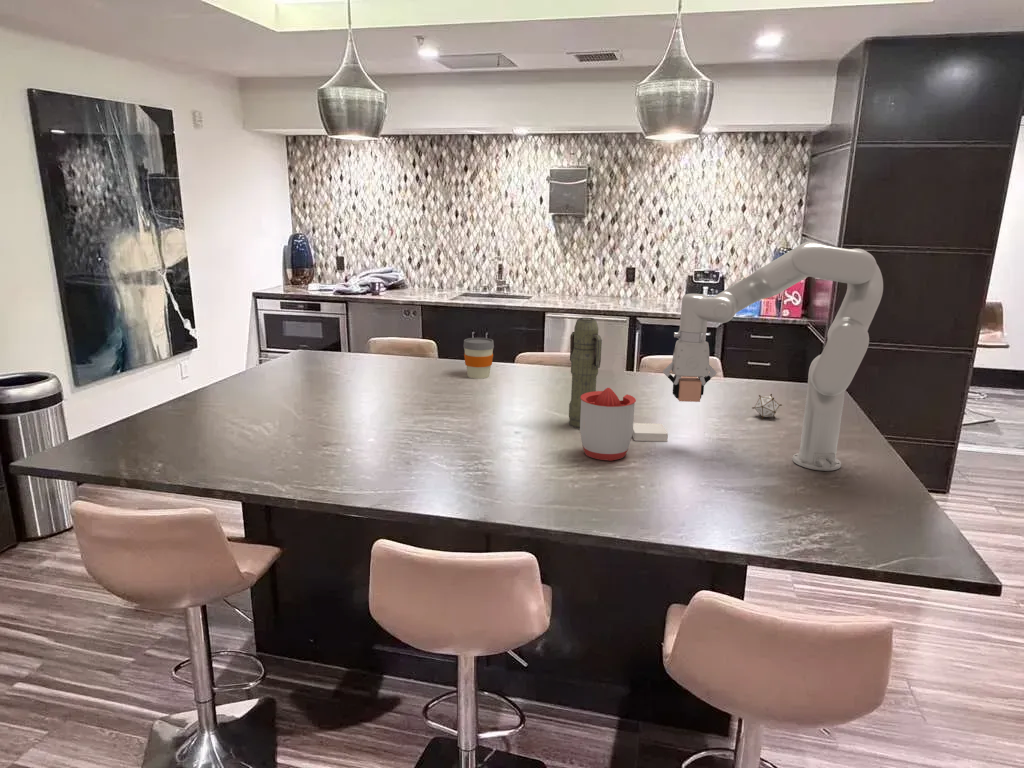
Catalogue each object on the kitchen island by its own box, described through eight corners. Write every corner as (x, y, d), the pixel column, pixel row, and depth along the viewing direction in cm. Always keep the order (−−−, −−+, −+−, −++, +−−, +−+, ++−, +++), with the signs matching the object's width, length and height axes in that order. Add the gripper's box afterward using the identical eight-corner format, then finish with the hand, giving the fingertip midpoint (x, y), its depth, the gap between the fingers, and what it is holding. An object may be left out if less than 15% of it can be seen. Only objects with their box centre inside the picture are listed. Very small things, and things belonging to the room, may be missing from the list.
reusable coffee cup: (499, 375, 295) (500, 339, 292) (482, 381, 285) (482, 344, 281) (474, 371, 302) (475, 336, 298) (457, 376, 292) (457, 341, 288)
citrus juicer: (642, 450, 209) (646, 384, 204) (619, 468, 195) (624, 397, 190) (593, 440, 217) (596, 377, 212) (568, 457, 202) (571, 389, 197)
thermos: (575, 418, 239) (579, 314, 230) (604, 425, 231) (610, 319, 223) (559, 423, 232) (563, 317, 224) (589, 431, 225) (594, 322, 216)
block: (667, 441, 217) (667, 433, 216) (634, 440, 217) (635, 433, 216) (661, 431, 227) (661, 423, 226) (629, 430, 227) (630, 423, 226)
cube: (700, 401, 206) (701, 381, 205) (679, 401, 206) (680, 381, 205) (695, 396, 212) (696, 376, 211) (675, 395, 212) (676, 376, 211)
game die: (769, 429, 243) (784, 412, 235) (746, 419, 244) (760, 401, 236) (773, 411, 249) (787, 393, 241) (750, 401, 250) (763, 383, 242)
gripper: (664, 338, 201) (660, 400, 206) (725, 340, 201) (720, 401, 205) (660, 334, 208) (655, 393, 213) (719, 335, 208) (713, 394, 213)
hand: (687, 396), depth 209 cm, fingers closed on cube, 6 cm apart
